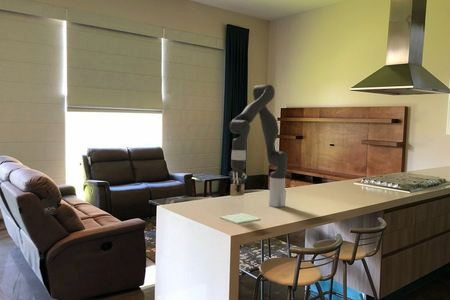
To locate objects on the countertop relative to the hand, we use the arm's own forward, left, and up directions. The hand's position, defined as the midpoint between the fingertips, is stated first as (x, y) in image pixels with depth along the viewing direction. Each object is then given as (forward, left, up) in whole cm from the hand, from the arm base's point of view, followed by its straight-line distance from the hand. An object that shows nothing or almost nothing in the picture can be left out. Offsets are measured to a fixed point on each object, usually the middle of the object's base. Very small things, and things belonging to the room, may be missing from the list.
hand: (237, 191), depth 199 cm
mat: (0, +3, -14) cm, 14 cm away
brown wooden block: (0, 0, -2) cm, 2 cm away
